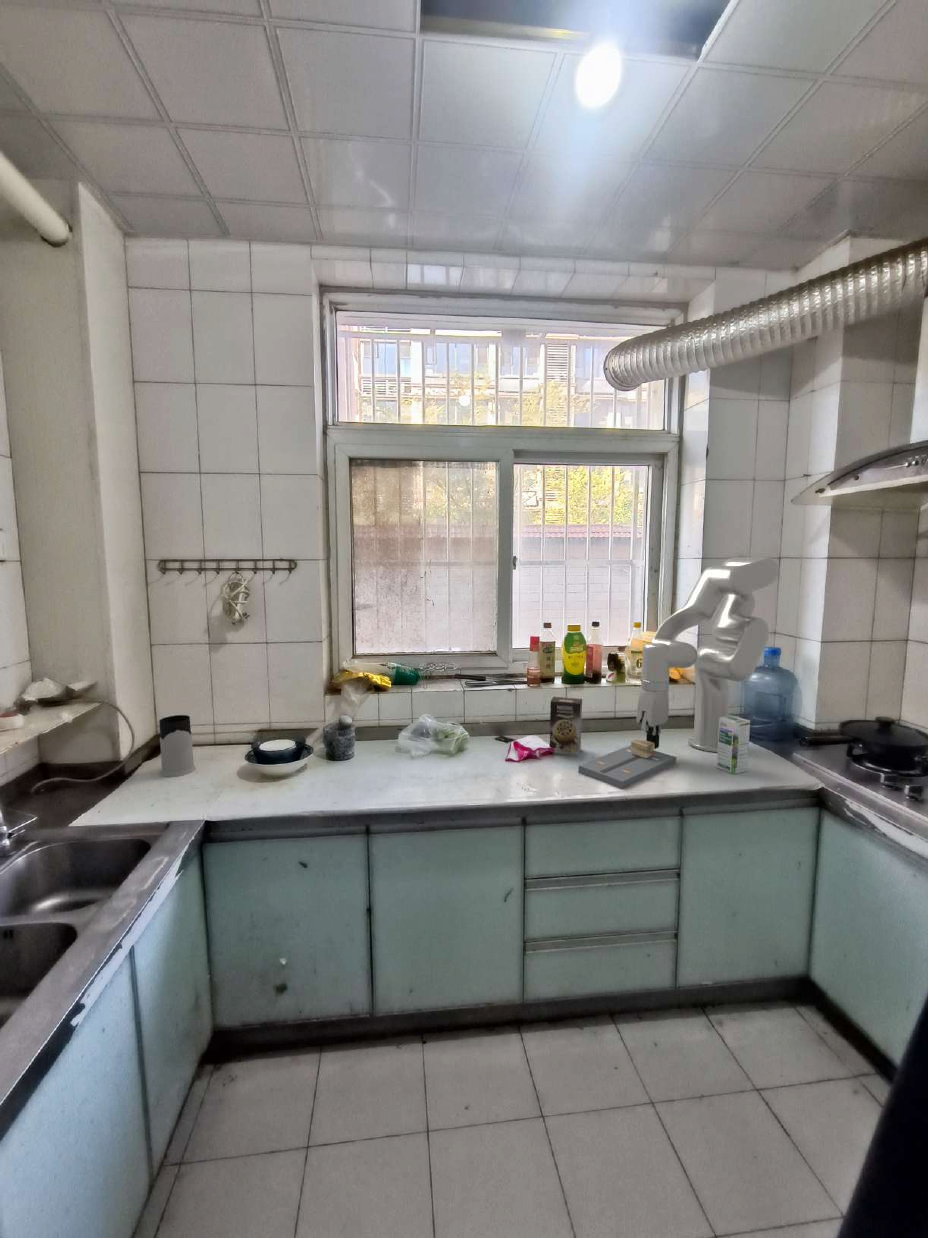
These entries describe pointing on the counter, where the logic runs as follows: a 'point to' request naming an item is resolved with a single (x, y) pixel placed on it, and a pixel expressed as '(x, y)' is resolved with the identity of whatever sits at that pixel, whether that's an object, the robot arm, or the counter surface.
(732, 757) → the syrup box
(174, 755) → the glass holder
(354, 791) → the counter surface
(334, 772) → the counter surface
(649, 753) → the block
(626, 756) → the board
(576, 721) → the cookie box
